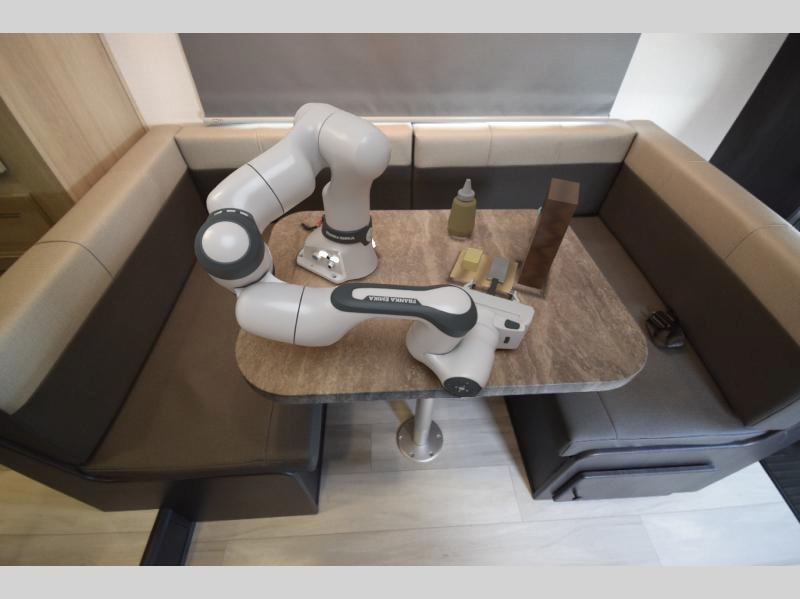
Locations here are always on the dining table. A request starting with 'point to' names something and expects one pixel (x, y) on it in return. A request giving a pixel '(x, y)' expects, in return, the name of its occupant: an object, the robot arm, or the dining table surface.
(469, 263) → the butter
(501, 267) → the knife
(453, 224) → the squeeze bottle
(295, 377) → the dining table surface
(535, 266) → the stand
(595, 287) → the dining table surface
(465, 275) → the board
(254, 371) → the dining table surface
